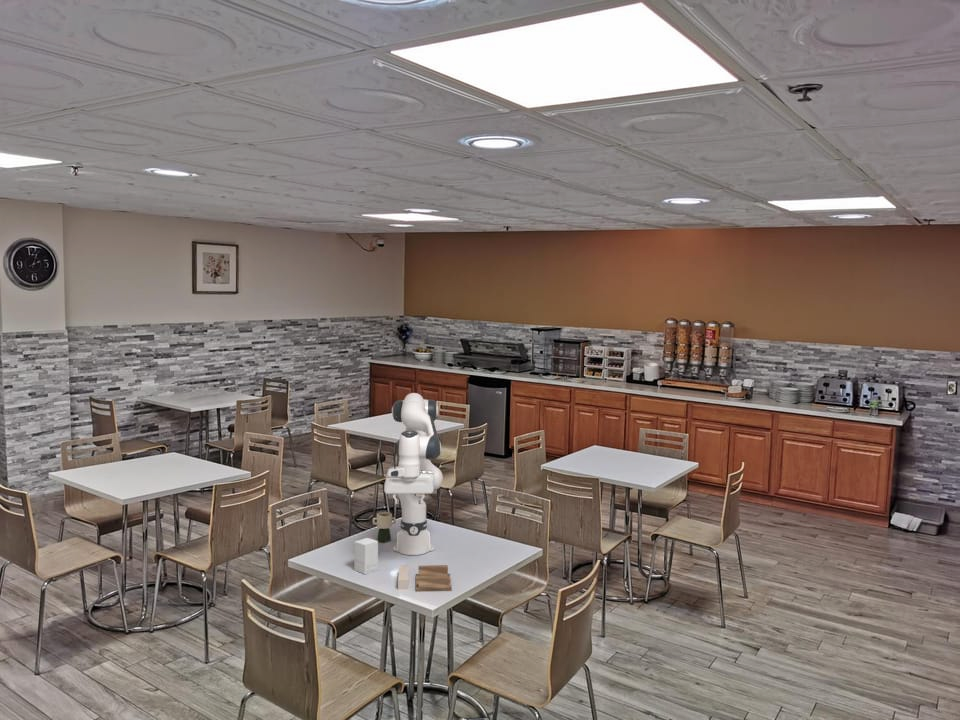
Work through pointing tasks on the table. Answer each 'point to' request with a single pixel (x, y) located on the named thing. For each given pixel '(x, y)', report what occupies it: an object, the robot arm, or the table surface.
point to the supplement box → (366, 555)
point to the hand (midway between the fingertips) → (408, 504)
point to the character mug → (384, 525)
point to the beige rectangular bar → (403, 577)
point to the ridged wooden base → (433, 578)
